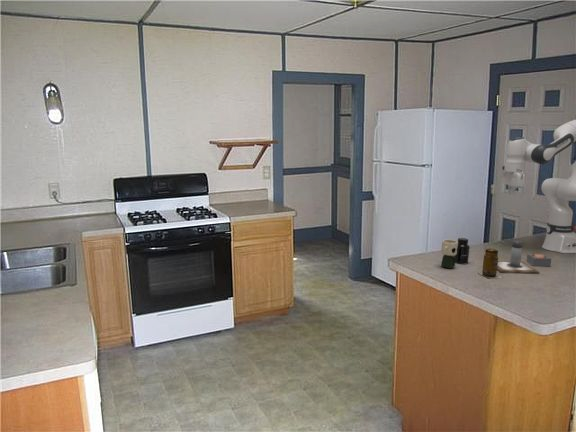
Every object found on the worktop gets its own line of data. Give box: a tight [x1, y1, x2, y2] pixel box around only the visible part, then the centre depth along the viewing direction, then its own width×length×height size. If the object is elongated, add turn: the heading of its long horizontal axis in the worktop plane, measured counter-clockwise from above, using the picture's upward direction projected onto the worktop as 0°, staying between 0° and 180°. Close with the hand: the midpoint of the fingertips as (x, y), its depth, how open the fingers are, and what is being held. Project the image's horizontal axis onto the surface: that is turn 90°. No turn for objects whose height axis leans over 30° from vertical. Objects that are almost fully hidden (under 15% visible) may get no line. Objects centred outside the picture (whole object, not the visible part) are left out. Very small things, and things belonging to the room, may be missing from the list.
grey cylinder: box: [509, 239, 524, 267], centre depth 229 cm, size 5×5×12 cm
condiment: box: [478, 248, 504, 279], centre depth 218 cm, size 7×8×12 cm
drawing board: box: [497, 260, 540, 275], centre depth 230 cm, size 18×16×1 cm
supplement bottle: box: [454, 237, 471, 265], centre depth 238 cm, size 7×7×12 cm
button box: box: [525, 253, 552, 268], centre depth 237 cm, size 8×8×4 cm
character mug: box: [440, 238, 458, 269], centre depth 229 cm, size 11×7×13 cm, turn 139°
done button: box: [534, 253, 545, 258], centre depth 237 cm, size 4×4×3 cm
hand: (511, 194), depth 256 cm, fingers closed
